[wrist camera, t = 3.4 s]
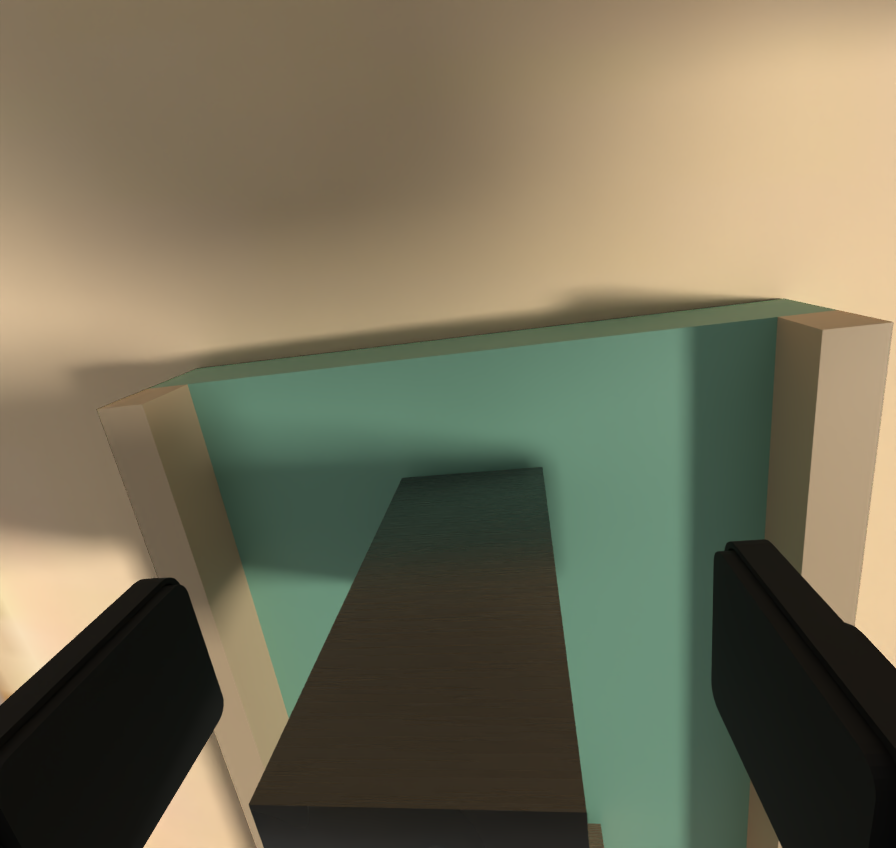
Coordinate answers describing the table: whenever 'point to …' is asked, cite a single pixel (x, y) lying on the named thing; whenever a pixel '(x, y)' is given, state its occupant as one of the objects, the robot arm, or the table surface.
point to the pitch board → (569, 507)
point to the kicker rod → (439, 687)
